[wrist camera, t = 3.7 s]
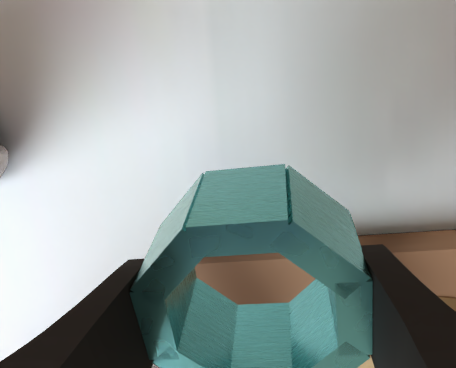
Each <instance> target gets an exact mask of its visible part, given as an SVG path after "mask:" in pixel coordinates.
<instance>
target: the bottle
mask: <svg viewBox="0 0 456 368" xmlns="http://www.w3.org/2000/svg"><path fill="white" fill-rule="evenodd" d="M7 164H8V151H7V150H6V149H5V147H4V146H1V145H0V177H1V176H2V174H3V172H4V171H5V168H6V166H7Z"/></svg>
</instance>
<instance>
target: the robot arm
mask: <svg viewBox="0 0 456 368" xmlns="http://www.w3.org/2000/svg"><path fill="white" fill-rule="evenodd" d="M361 248H362V253H363V256H364V259H365V262H366V265H367V268H368V271H369V273H370V275H371V278H372V281H373V295H372V355H371V358H372V361H373V364H374V367H375V368H456V311H455V310H453V309H452V308H451V307H450V306H448V305H447V304H446V303H445V302H444V301H443V300H441V299H440V298H439V297H438V296H437V295H436V294H434V293H433V292H432V291H431V290H430V289H429V288H428V287H427V286H426V285H424V284H423V283H422V282H421V281H420V280H419V279H418V278H417V277H416V276H415V275H414V274H413V273H412V272H411V271H410V270H409V269H408V268H407V267H406V266H404V265H403V264H402V262H401V261H400V260H399V259H398V258H397V257H396V256H395V255H394V254H393V253H392V252H391V251H390V250H389V249H388V248H387V247H386V246H384V245H383V244H377V245H361ZM143 262H144V259H133V260H128V261H127V262H125V263H124V264H123V265H122V266H120V267H119V268H118V269H117V270H116V271H115V272H113V273H112V274H111V275H110V276H109V277H108V278H107V279H105V280H104V281H103V282H102V283H101V284H100V285H99V286H98V287H96V288H95V289H94V290H93V291H92V292H91V293H90V294H88V295H87V296H86V297H85V298H84V299H83V300H82V301H80V302H79V303H78V304H77V305H76V306H75V307H73V308H72V309H71V310H70V311H68V312H67V313H66V314H65V315H63V316H62V317H61V318H60V319H59V320H57V321H56V322H55V323H54V324H52V325H51V326H50V327H49V328H47V329H46V330H45V331H44V332H42V333H41V334H40V335H38V336H37V337H35V338H34V339H33V340H31V341H30V342H29V343H27V344H26V345H24V346H23V347H21V348H20V349H18V350H17V351H16V352H14V353H13V354H11V355H10V356H8V357H7V358H5V359H4V360H2V361H1V362H0V368H151V367H152V364H153V363H152V361H153V360H149V356H148V353H147V350H146V346H145V343H144V340H143V336H142V333H141V330H140V326H139V323H138V320H137V316H136V313H135V310H134V306H133V303H132V300H131V296H130V291H131V290H130V289H131V287H132V285H133V283H134V281H135V279H136V276H137V274H138V272H139V270H140V268H141V266H142V264H143Z"/></svg>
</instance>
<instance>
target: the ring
mask: <svg viewBox="0 0 456 368" xmlns="http://www.w3.org/2000/svg"><path fill="white" fill-rule="evenodd" d="M265 253H280V254H281V255H282V256H284V257H285V258H287V259H288V260H290V261H291V262H292V263H294V264H295V265H297V266H298V267H299V268H301V269H302V270H304V271H305V272H307V273H308V274H309V275H311V276H312V277H314V278H315V280H314V281H313V282H312V283H310V284H309V285H308V286H307V287H306V288H305V289H304V290H303V291H301V292H300V293H299V294H298V295H297V296H296V297H295V298H294V299H292V300H291V301H290V302H289V303H267V304H243V305H238V304H236V303H235V302H233V301H232V300H230V299H229V298H227V297H225V296H224V295H222V294H221V293H219V292H218V291H216V290H215V289H213V288H212V287H210V286H209V285H207V284H206V283H204V282H203V281H201V280H200V279H198V278H197V276H196V271H195V266H196V265H197V264H198V263H199V262H200V261H201V260H202V259H203V258H204V257H215V256H232V255H248V254H265ZM130 290H131V291H130V296H131V300H132V303H133V306H134V310H135V313H136V316H137V320H138V323H139V326H140V330H141V333H142V336H143V340H144V343H145V346H146V350H147V353H148V356H149V360H153V361H152V363H153V364H155V365H156V366H158V367H160V368H357V367H359V366H360V365H362V364H363V363H364V362H366V361H367V360H368V359H370V355H372V295H373V281H372V278H371V275H370V273H369V271H368V268H367V265H366V262H365V259H364V256H363V253H362V248H361V245H360V242H359V239H358V236H357V233H356V229H355V226H354V223H353V220H352V217H351V214H350V213H349V211H348V210H347V209H346V208H344V207H343V206H342V205H340V204H339V203H338V202H337V201H335V200H334V199H333V198H331V197H330V196H329V195H327V194H326V193H325V192H323V191H322V190H321V189H319V188H318V187H317V186H315V185H314V184H313V183H311V182H310V181H309V180H308V179H306V178H305V177H304V176H302V175H301V174H300V173H298V172H297V171H296V170H294V169H293V168H292V167H290V166H288V167H287V168H286V169H285V164H281V165H271V166H260V167H249V168H238V169H227V170H216V171H206V173H205V175H204V174H203V173H202V175H201V176H200V177H199V178H198V179H197V181H196V182H195V183H194V184H193V186H192V187H191V188H190V189H189V191H188V192H187V193H186V194H185V195H184V197H183V198H182V199H181V200H180V202H179V203H178V204H177V205H176V207H175V208H174V209H173V210H172V212H171V213H170V214H169V215H168V216H167V218H166V219H165V220H164V221H163V223H162V224H161V225H160V228H159V230H158V232H157V234H156V236H155V238H154V240H153V242H152V245H151V247H150V249H149V251H148V253H147V255H146V257H145V259H144V262H143V264H142V266H141V268H140V270H139V272H138V274H137V276H136V279H135V281H134V283H133V285H132V287H131V289H130Z"/></svg>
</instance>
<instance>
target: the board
mask: <svg viewBox="0 0 456 368" xmlns="http://www.w3.org/2000/svg"><path fill="white" fill-rule="evenodd" d="M358 239H359V242H360V245H377V244H383V245H384V246H386V247H387V248H388V249H389V250H390V251H391V252H392V253H393V254H394V255H395V256H396V257H397V258H398V259H399V260H400V261H401V262H402V264H403V265H404V266H406V267H407V268H408V269H409V270H410V271H411V272H412V273H413V274H414V275H415V276H416V277H417V278H418V279H419V280H420V281H421V282H422V283H423V284H424V285H426V286H427V287H428V288H429V289H430V290H431V291H432V292H433V293H434V294H436V295H437V296H438V297H439V298H440V299H441V300H443V301H444V302H445V303H446V304H447V305H448V306H450V307H451V308H452V309H453V310H455V311H456V230H442V231H426V232H411V233H395V234H380V235H364V236H358ZM195 271H196V276H197V278H198V279H200V280H201V281H203V282H204V283H206V284H207V285H209V286H210V287H212V288H213V289H215V290H216V291H218V292H219V293H221V294H222V295H224V296H225V297H227V298H229V299H230V300H232V301H233V302H235V303H236V304H238V305H243V304H267V303H289V302H290V301H291V300H292V299H294V298H295V297H296V296H297V295H298V294H299V293H300V292H301V291H303V290H304V289H305V288H306V287H307V286H308V285H309V284H310V283H312V282H313V281H314V280H315V278H314V277H312V276H311V275H309V274H308V273H307V272H305V271H304V270H302V269H301V268H299V267H298V266H297V265H295V264H294V263H292V262H291V261H290V260H288V259H287V258H285V257H284V256H282V255H281V254H280V253H265V254H248V255H232V256H215V257H204V258H203V259H202V260H201V261H200V262H199V263H198V264H197V265H196V266H195ZM357 368H375V367H374V364H373V361H372V358H371V355H370V359H368V360H367V361H366V362H364V363H363V364H362V365H360V366H359V367H357Z"/></svg>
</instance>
